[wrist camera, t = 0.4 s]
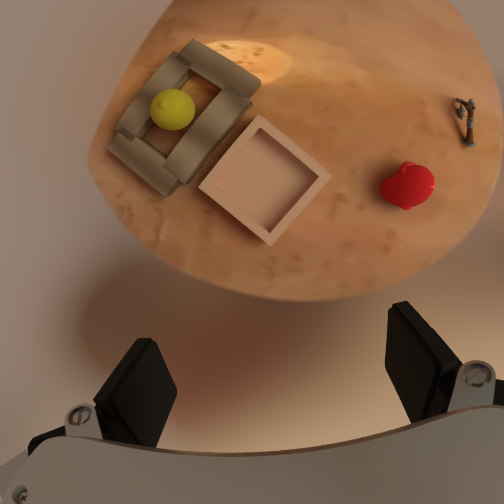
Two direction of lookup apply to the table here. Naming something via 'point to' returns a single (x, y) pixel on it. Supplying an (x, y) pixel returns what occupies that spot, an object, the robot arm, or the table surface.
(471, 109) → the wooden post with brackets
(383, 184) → the cap
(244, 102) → the rectangular open frame
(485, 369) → the robot arm
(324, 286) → the table surface
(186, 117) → the lemon
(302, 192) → the tray
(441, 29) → the table surface
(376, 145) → the table surface
